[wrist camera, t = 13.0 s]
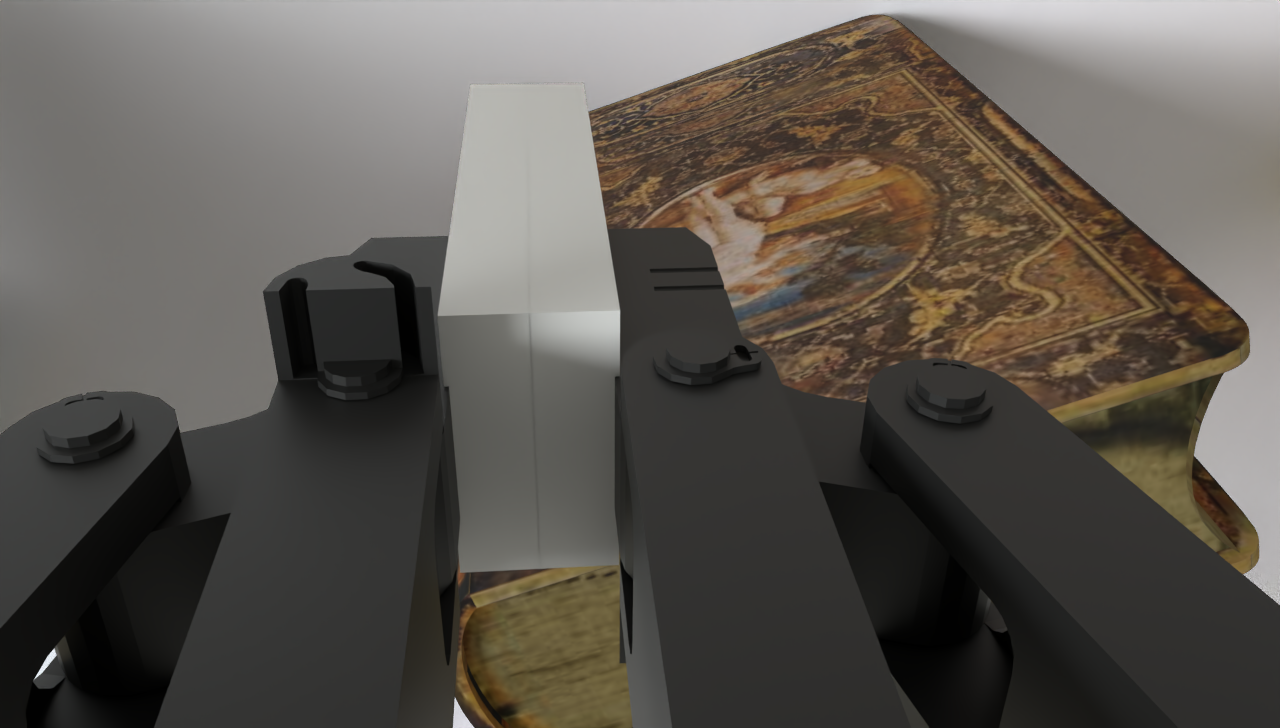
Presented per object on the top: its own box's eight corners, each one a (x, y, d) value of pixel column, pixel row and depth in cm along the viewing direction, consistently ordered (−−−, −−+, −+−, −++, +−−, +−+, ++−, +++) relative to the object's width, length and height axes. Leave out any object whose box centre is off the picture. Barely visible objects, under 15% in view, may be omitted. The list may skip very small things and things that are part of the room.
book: (517, 277, 45) (512, 794, 24) (464, 154, 42) (403, 614, 21) (911, 143, 44) (1285, 563, 22) (883, 7, 41) (1278, 337, 20)
